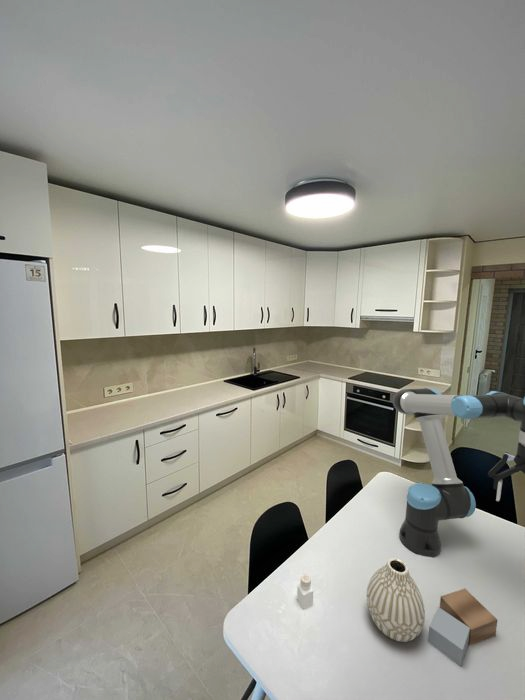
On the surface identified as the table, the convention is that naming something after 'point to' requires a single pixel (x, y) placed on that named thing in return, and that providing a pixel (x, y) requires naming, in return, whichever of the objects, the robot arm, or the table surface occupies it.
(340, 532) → the table surface
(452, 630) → the slate block
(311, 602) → the pepper shaker
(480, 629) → the walnut block
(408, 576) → the vase
